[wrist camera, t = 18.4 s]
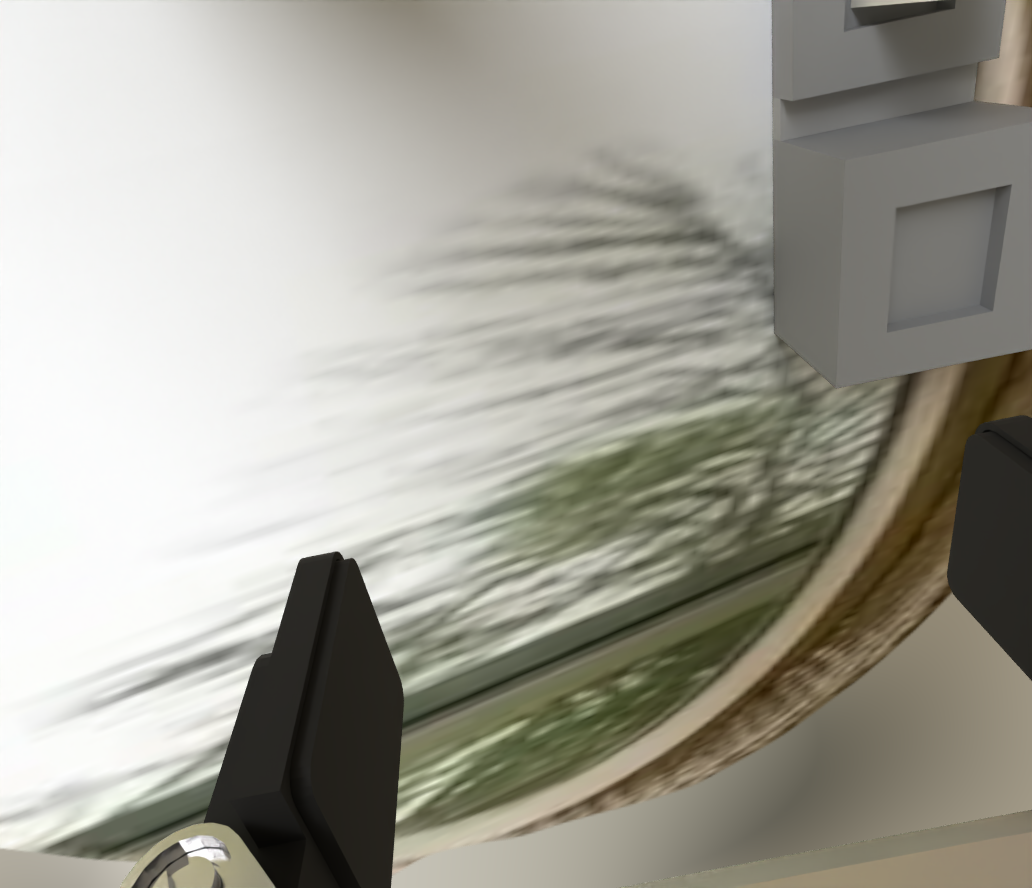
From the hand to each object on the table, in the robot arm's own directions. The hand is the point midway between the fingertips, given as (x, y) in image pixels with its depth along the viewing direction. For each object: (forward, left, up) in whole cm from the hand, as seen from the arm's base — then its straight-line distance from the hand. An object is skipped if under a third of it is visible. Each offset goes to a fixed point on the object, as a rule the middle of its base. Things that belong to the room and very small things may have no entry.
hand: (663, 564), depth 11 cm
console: (-1, +19, -31) cm, 37 cm away
